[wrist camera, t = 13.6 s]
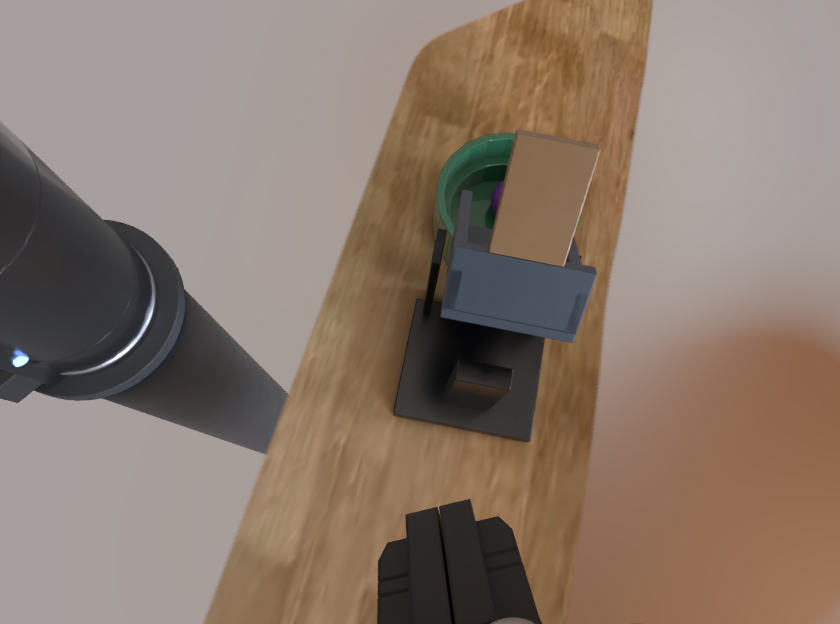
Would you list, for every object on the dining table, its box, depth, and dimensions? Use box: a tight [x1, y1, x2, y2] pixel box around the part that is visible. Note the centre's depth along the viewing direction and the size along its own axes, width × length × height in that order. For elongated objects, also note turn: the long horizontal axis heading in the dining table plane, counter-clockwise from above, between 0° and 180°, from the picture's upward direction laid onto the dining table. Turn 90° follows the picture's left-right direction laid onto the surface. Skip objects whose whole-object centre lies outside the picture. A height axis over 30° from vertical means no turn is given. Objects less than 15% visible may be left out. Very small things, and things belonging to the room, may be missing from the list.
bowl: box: [432, 133, 581, 264], centre depth 43 cm, size 9×9×5 cm
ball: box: [491, 180, 504, 215], centre depth 43 cm, size 3×3×3 cm
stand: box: [393, 228, 581, 442], centre depth 37 cm, size 9×9×10 cm
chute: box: [440, 129, 601, 343], centre depth 30 cm, size 10×6×8 cm
